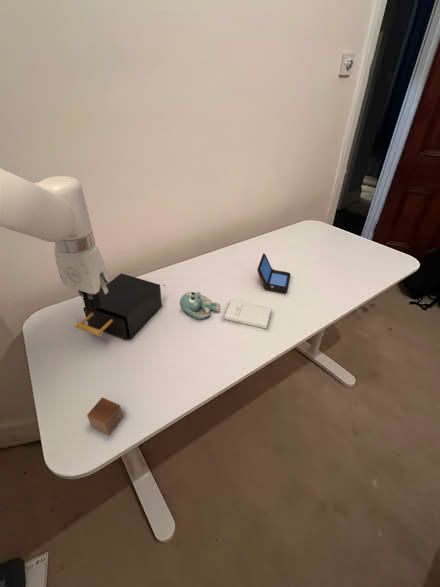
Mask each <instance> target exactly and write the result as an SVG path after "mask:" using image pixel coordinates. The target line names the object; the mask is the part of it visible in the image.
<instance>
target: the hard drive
mask: <svg viewBox="0 0 440 587" xmlns="http://www.w3.org/2000/svg"><path fill="white" fill-rule="evenodd" d="M271 313H272V308H271V307H267V306H262V305H257V304H252V303H247V302H242V301H238V300H230V303H229V305H228V306H227V310H226V312H225V314H224V320H225V321H227V320H228V321H230V322H235V323H240V324H244V325H248V326H252V327H257V328H260V329H265V330H266V329H267V328H268V324H269V320H270V316H271Z"/></svg>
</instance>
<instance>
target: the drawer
mask: <svg viewBox="0 0 440 587" xmlns="http://www.w3.org/2000/svg"><path fill="white" fill-rule="evenodd" d="M83 313H84V315H85V317H84V319H82V320H81V321H80V322H76V323H75V328H77V329H80V330H82V331H84V332H86V333H89V334H92V335H95V336H97V337H102V335H103V332H104V333H107V334H110V335H113V336H115V337H117V338H120V339H123V340H127V339H128V337H129V336H128V331H127V326H126V321H125V318H122V317H119V316H117V315H114V314H111V313H108V312H105V311H102V310H99V309H96V310H95V311H94V312H90V311H87V310H86V307H85V306H84V307H83ZM86 322H87V324H85V323H86Z"/></svg>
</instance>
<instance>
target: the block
mask: <svg viewBox="0 0 440 587" xmlns="http://www.w3.org/2000/svg"><path fill="white" fill-rule="evenodd" d="M86 416H87V419H88V422H89V424H90V427H91V428H93V429H95V430H96V431H98V432H101V433H102V434H105V435H106V436H108V437H110V436H111V434H112V433H113V432H114V430H115V429H116V428H117V426H118V425H119V423H120V422H121V421H122V420H123V418H124V415H123V412H122V408H121V405H120V404H118V403H116V402H114V401H112V400H110V399H107V398H105V397H103V396H102V397H101V398H100V399H99V400H98V401H97V402H96V404H95V405H94V406H93V407H92V408H91V409H90V411H89V412H88V413H87V414H86Z"/></svg>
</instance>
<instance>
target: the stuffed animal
mask: <svg viewBox="0 0 440 587" xmlns="http://www.w3.org/2000/svg"><path fill="white" fill-rule="evenodd" d="M179 306H180V309H181V310H182V311H183V312H185V313H186V314H188V315H189V316H190V317H192V318H194V319H198V320H203V319H206V318H209V317H210V316H211V313H210V311H211V310H213V311H214V312H219V311H220V310H221V308H220V306H221V305H220V303H219V302H213V301H211V299H210V298H209V297H207V296H206V295H202V294H201V292H200V291H197V292H195V291H186V293H184V294H183V295H182V296H181V297H180V299H179ZM199 308H201V309H203V311H199Z"/></svg>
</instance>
